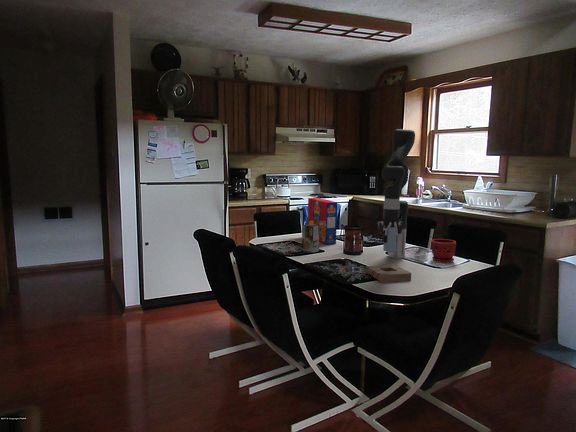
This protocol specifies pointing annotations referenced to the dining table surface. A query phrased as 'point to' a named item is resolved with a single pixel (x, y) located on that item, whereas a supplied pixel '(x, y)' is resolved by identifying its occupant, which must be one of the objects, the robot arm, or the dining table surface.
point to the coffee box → (310, 238)
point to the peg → (391, 240)
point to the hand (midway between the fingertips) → (389, 242)
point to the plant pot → (443, 250)
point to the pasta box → (323, 218)
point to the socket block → (388, 273)
